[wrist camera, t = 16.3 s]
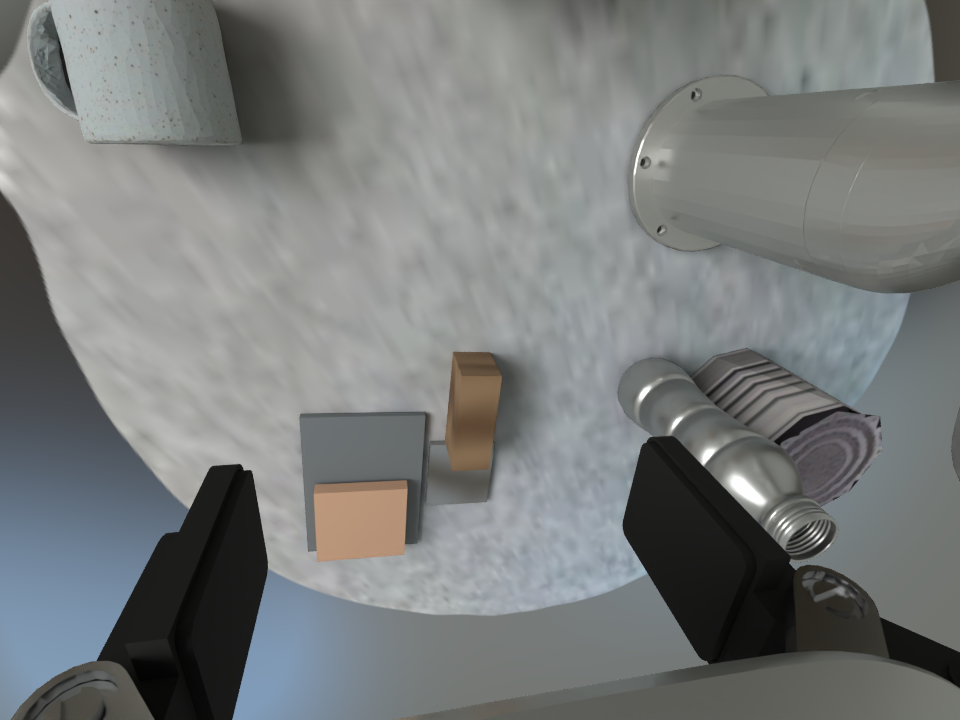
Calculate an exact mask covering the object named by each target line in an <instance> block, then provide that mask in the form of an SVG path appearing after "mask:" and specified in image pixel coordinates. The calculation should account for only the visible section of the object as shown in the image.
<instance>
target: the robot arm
mask: <svg viewBox="0 0 960 720" xmlns="http://www.w3.org/2000/svg"><path fill="white" fill-rule="evenodd" d="M691 93H692V97H691ZM641 160H642V164H641V165H640V162H641ZM628 190H629V199H630V203H631V207H632V211H633V213H634V215H635V217H636V219H637V221H638V223H639V225H640V226H641V227H642V229H643V230H644V231H645V232H646V233H647V235H649V236H650V237H651V238H653V239H654V240H655V241H657V242H658V243H661V244H663V245H665V246H667V247H670V248H673V249H676V250H680V251H699V250H706V249H709V248H712V247H715V246H718V245H720V244H724V245H727V246H730V247H733V248H736V249H739V250H742V251H745V252H748V253H751V254H754V255H757V256H760V257H763V258H766V259H769V260H772V261H775V262H778V263H781V264H784V265H787V266H790V267H793V268H796V269H799V270H802V271H805V272H808V273H811V274H814V275H817V276H820V277H823V278H826V279H829V280H832V281H836V282H839V283H842V284H845V285H848V286H852V287H855V288H858V289H862V290H866V291H871V292H878V293H911V292H917V291H922V290H927V289H932V288H936V287H939V286H943V285H946V284H949V283H952V282H955V281H958V280H960V81H949V82H937V83H925V84H914V85H902V86H889V87H876V88H863V89H851V90H838V91H825V92H813V93H800V94H787V95H775V96H769V95H768V94H767V93H766V92H765V91H764V90H763V89H762V88H761V87H760V86H758V85H757V84H755V83H754V82H752V81H750V80H748V79H745V78H742V77H738V76H730V75H719V76H712V77H706V78H703V79H700V80H697V81H693V82H691V83H689V84H687V85H685V86H684V87H682V88H680V89H678V90H676V91H675V92H674V93H673V94H672V95H670V96H669V97H668V98H667V99H666V100H664V101H663V102H662V103H661V104H660V106H659V107H658V108H657V109H656V110H655V111H654V113H653V114H652V115H651V116H650V118H649V119H648V121H647V123H646V124H645V126H644V127H643V129H642V131H641V133H640V135H639V137H638V140H637V142H636V144H635V147H634V149H633V153H632V157H631V161H630V165H629V175H628ZM658 227H659V228H658ZM657 229H658V230H657ZM951 452H952V460H953V466H954V468H955V471H956V474H957V476H958V478H959V481H960V408H959V412H958V415H957V419H956V422H955V427H954V432H953V436H952V450H951ZM623 531H624V535H625V537H626V538H627V540H628V542H629V543H630V545H631V547H632V548H633V550H634V552H635V553H636V555H637V556H638V558H639V560H640V561H641V563H642V565H643V566H644V568H645V570H646V571H647V573H648V574H649V576H650V578H651V579H652V581H653V583H654V584H655V586H656V587H657V589H658V591H659V592H660V594H661V596H662V597H663V599H664V601H665V602H666V604H667V606H668V607H669V609H670V610H671V612H672V614H673V615H674V617H675V619H676V620H677V622H678V623H679V625H680V627H681V628H682V630H683V632H684V633H685V635H686V637H687V638H688V640H689V641H690V643H691V645H692V646H693V648H694V650H695V651H696V653H697V654H698V656H699V657H700V658H701V659H702V660H704V661H707V662H708V663H709V665H703V666H698V667H691V668H686V669H680V670H673V671H668V672H662V673H656V674H650V675H644V676H638V677H632V678H626V679H620V680H615V681H609V682H603V683H598V684H592V685H586V686H581V687H574V688H569V689H563V690H557V691H552V692H546V693H540V694H535V695H529V696H523V697H518V698H512V699H506V700H501V701H495V702H489V703H484V704H478V705H473V706H467V707H462V708H456V709H451V710H445V711H440V712H434V713H429V714H423V715H417V716H412V717H407V718H401V719H396V720H960V652H958V651H955V650H953V649H951V648H949V647H946V646H944V645H942V644H940V643H937V642H935V641H933V640H930V639H928V638H926V637H924V636H921V635H919V634H917V633H915V632H912V631H910V630H908V629H905V628H903V627H901V626H899V625H896V624H894V623H892V622H889V621H887V620H885V619H883V618H881V617H880V616H879V613H878V609H877V607H876V605H875V603H874V601H873V600H872V598H871V597H870V596H869V595H868V593H867V592H866V591H865V590H864V589H862V588H861V587H860V586H859V585H858V584H857V583H855V582H854V581H852V580H851V579H849V578H848V577H846V576H844V575H843V574H841V573H838V572H836V571H834V570H832V569H829V568H825V567H822V566H818V565H805V566H801V567H799V568H798V569H797V570H795V569H794V568H793V567H792V566H791V565H790V564H789V562H790V560H791V558H792V557H791V556H790V555H789V554H788V553H787V552H786V551H785V550H784V549H783V548H782V547H781V546H780V545H779V544H778V543H777V542H776V541H775V540H774V539H773V537H772V536H771V535H770V534H769V533H768V532H767V531H766V530H765V529H764V528H763V527H762V526H761V525H760V524H759V523H758V522H757V521H756V520H755V519H754V518H753V517H752V516H751V515H750V514H749V513H748V512H747V511H746V510H745V509H744V508H743V506H742V505H741V504H740V503H739V502H738V501H737V500H736V499H735V498H734V497H733V496H732V495H731V494H730V493H729V492H728V491H727V490H726V489H725V488H724V487H723V486H722V485H721V484H720V483H719V482H718V481H717V480H716V479H715V478H714V477H713V475H712V474H711V473H710V472H709V471H708V470H707V469H706V468H705V467H704V466H703V465H702V464H701V463H700V462H699V461H698V460H697V459H696V458H695V457H694V456H693V455H692V454H691V453H690V452H689V451H688V450H687V449H686V448H685V447H684V446H683V444H682V443H681V442H680V441H679V440H678V439H677V438H675V437H674V436H658V437H651V438H649V439H648V440H647V443H644V444H643V445H642V447H641V450H640V454H639V458H638V462H637V466H636V471H635V475H634V479H633V483H632V487H631V491H630V495H629V499H628V503H627V507H626V511H625V515H624V519H623ZM267 570H268V560H267V553H266V547H265V542H264V536H263V530H262V525H261V519H260V513H259V507H258V502H257V496H256V490H255V484H254V479H253V474H252V471H251V470H246V471H244V470H243V467H242V465H240V464H235V465H220V466H212V467H211V468H210V469H209V471H208V473H207V475H206V477H205V479H204V481H203V483H202V485H201V487H200V489H199V491H198V493H197V496H196V498H195V500H194V502H193V504H192V506H191V508H190V510H189V512H188V514H187V516H186V519H185V520H184V523H183V525H182V527H181V529H180V531H179V532H174V533H166V534H165V535H164V536H162V538H161V539H160V541H159V542H158V544H157V546H156V548H155V550H154V552H153V553H152V556H151V557H150V559H149V561H148V563H147V565H146V567H145V569H144V571H143V573H142V575H141V577H140V578H139V580H138V582H137V584H136V586H135V588H134V590H133V592H132V594H131V596H130V598H129V600H128V601H127V603H126V605H125V607H124V609H123V611H122V613H121V615H120V617H119V619H118V621H117V623H116V624H115V627H114V628H113V630H112V632H111V634H110V636H109V638H108V640H107V642H106V644H105V646H104V647H103V649H102V651H101V653H100V655H99V657H98V659H97V661H92V662H88V663H85V664H82V665H78V666H75V667H72V668H71V669H68V670H67V671H65V672H63V673H61V674H59V675H57V676H55V677H53V678H52V679H51V680H50V681H48V682H47V683H45V684H44V685H42V686H41V687H40V688H38V689H37V690H36V691H35V692H34V693H33V694H32V695H31V696H30V697H29V698H28V699H27V700H26V701H25V702H24V703H23V704H22V705H21V706H20V707H19V709H18V710H17V711H16V713H15V714H14V716H13V717H12V719H11V720H232V718H233V714H234V710H235V706H236V702H237V698H238V693H239V689H240V685H241V681H242V677H243V673H244V668H245V664H246V660H247V656H248V652H249V647H250V643H251V639H252V635H253V631H254V627H255V623H256V619H257V614H258V610H259V606H260V602H261V598H262V593H263V589H264V585H265V581H266V577H267Z"/></svg>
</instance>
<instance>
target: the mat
mask: <svg viewBox="0 0 960 720" xmlns="http://www.w3.org/2000/svg"><path fill="white" fill-rule="evenodd" d="M424 430H425V412H388V413H326V414H300V432H301V448H302V464H303V479H304V495H305V511H306V526H307V542H308V552H310V551H317V547H316V529H315V510H314V488H315V485H317V484H338V483H359V482H380V481H401V480H407V509H406V529H405V544H414V543H417V540H418V524H419V508H420V493H421V477H422V462H423V446H424Z"/></svg>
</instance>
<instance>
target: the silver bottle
mask: <svg viewBox="0 0 960 720" xmlns="http://www.w3.org/2000/svg"><path fill="white" fill-rule="evenodd" d="M618 400H619V403H620V405H621V407H622V409H623V410H624V412H625V414H626V415H627V417H628V418H629V419H631V420H632V421H633V422H634V423H635V424H637V425H638V426H639V427H641V428H642V429H644V430H645V431H647V432H649V433H650V434H651V435H652V436H653V437H658V436H674V437H675V438H677V439H678V440H679V441H680V442H681V443H682V444H683V446H684V447H685V448H686V449H687V450H688V451H689V452H690V453H691V454H692V455H693V456H694V457H695V458H696V459H697V460H698V461H699V462H700V463H701V464H702V465H703V466H704V467H705V468H706V469H707V470H708V471H709V472H710V473H711V474H712V475H713V477H714V478H715V479H716V480H717V481H718V482H719V483H720V484H721V485H722V486H723V487H724V488H725V489H726V490H727V491H728V492H729V493H730V494H731V495H732V496H733V497H734V498H735V499H736V500H737V501H738V502H739V503H740V504H741V505H742V506H743V508H744V509H745V510H746V511H747V512H748V513H749V514H750V515H751V516H752V517H753V518H754V519H755V520H756V521H757V522H758V523H759V524H760V525H761V526H762V527H763V528H764V529H765V530H766V531H767V532H768V533H769V534H770V535H771V536H772V537H773V539H774V540H775V541H776V542H777V543H778V544H779V545H780V546H781V547H782V548H783V549H784V550H785V551H786V552H787V553H788V554H789V555H790V556H791V557H792V558H791V560H790V561H791V562H805V561H808V560H811V559H813V558H816V557H817V556H819V555H821V554H822V553H824V552H825V551H826V550H827V549H828V548H829V547H830V546H831V545H832V544H833V543H834V541H835V539H836V538H837V535H838V531H839V527H838V524H837V522H836V521H835V520H834V519H833V518H832V517H831V516H830V515H829V514H828V513H826V512H825V511H824V510H823V509H822V508H821V506H820V505H819V504H818V503H817V502H816V501H815V500H814V499H813V498H811V497H809V496H806V495H804V494H803V486H802V480H801V477H800V473H799V469H798V467H797V465H796V463H795V462H794V460H793V459H792V458H791V456H790V455H789V453H788V452H787V451H786V450H785V449H783V448H782V447H780V446H779V445H778V444H776V443H775V442H773V441H771V440H770V439H768V438H766V437H764V436H762V435H761V434H759V433H757V432H755V431H754V430H752V429H750V428H748V427H747V426H745V425H743V424H741V423H740V422H739V421H737V420H736V419H734V418H733V417H732V416H730V415H729V414H727V413H726V412H724V411H723V410H722V409H720V408H719V407H718V406H716V405H715V404H714V403H713V402H712V401H711V400H710V399H709V398H708V397H707V396H706V395H705V394H704V393H703V392H702V391H701V390H700V389H699V388H698V387H697V385H696V384H695V382H694V381H693V380H692V379H691V378H690V376H689V375H688V374H687V373H686V372H685V371H684V370H683V369H682V368H681V367H679V366H678V365H676V364H674V363H671V362H669V361H667V360H664V359H659V358H653V359H646V360H643V361H640V362H637V363H635V364H634V365H632V366H631V367H630V368H629V369H628V370H626V372H625V373H624V374H623V376H622V378H621V380H620V383H619V387H618Z"/></svg>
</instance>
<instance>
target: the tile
mask: <svg viewBox="0 0 960 720" xmlns="http://www.w3.org/2000/svg"><path fill="white" fill-rule="evenodd" d="M406 509H407V480H401V481H380V482H359V483H338V484H317V485H315V488H314V510H315V529H316V547H317V562H319V561H331V560H343V559H356V558H368V557H380V556H392V555H404V549H405V529H406Z"/></svg>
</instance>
